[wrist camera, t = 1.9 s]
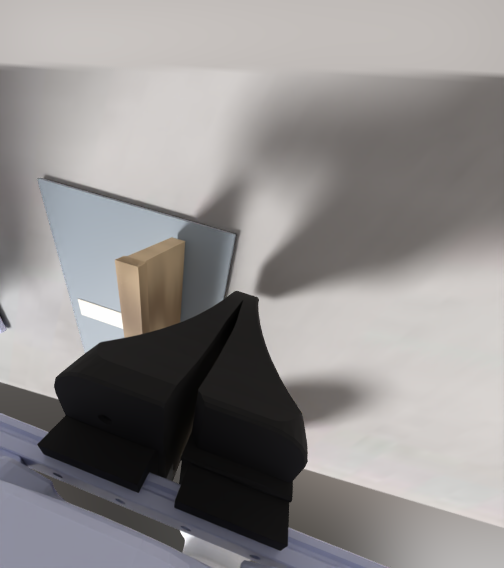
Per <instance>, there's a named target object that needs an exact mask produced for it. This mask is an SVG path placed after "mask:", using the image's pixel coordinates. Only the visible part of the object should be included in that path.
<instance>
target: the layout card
mask: <svg viewBox="0 0 504 568" xmlns="http://www.w3.org/2000/svg"><path fill="white" fill-rule="evenodd" d="M37 180H38V184H39V187H40V191H41V194H42V198H43V202H44V205H45V209H46V213H47V216H48V220H49V224H50V227H51V231H52V235H53V238H54V242H55V245H56V249H57V253H58V256H59V260H60V264H61V267H62V271H63V275H64V278H65V282H66V285H67V289H68V293H69V296H70V300H71V304H72V307H73V311H74V315H75V318H76V322H77V326H78V329H79V333H80V336H81V340H82V344H83V347H84V351H85V353H86V352H88V351H89V350H90V349H92V348H93V347H94V346H96V345H97V344H98V343H100V342H103V341H109V340H115V339H120V338H124V331H123V323H122V315H121V307H120V299H119V291H118V283H117V275H116V267H115V259H117V258H120V257H122V256H128V255H131V254H133V253H136V252H138V251H140V250H143V249H145V248H147V247H150V246H152V245H155V244H157V243H159V242H162V241H164V240H166V239H169V238H171V237H173V238H176V239H180V240H183V241H185V253H184V269H183V285H182V302H181V318H180V322H183V321H185V320H187V319H190V318H192V317H194V316H196V315H198V314H200V313H202V312H204V311H206V310H207V309H209V308H211V307H213V306H214V305H216V304H217V303H219V302H221V301H222V300H224V296H225V291H226V285H227V280H228V275H229V269H230V264H231V259H232V254H233V248H234V243H235V238H236V234H234V233H231V232H227V231H224V230H220V229H217V228H213V227H210V226H206V225H203V224H200V223H196V222H193V221H189V220H186V219H182V218H179V217H175V216H172V215H168V214H165V213H161V212H158V211H154V210H151V209H147V208H144V207H140V206H137V205H134V204H130V203H127V202H123V201H120V200H116V199H113V198H109V197H106V196H102V195H99V194H95V193H92V192H88V191H85V190H81V189H78V188H75V187H71V186H68V185H64V184H61V183H57V182H54V181H50V180H47V179H43V178H37Z"/></svg>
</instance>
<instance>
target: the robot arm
mask: <svg viewBox="0 0 504 568" xmlns="http://www.w3.org/2000/svg"><path fill="white" fill-rule="evenodd" d="M258 302H259V299H258V297H255V296H251V295H248V294H245V293H242V292H239V291H235V292H233V293H232V294H231V295H229V296H228V297H226V298H225V299H224V300H222V301H221V302H219V303H217V304H216V305H214V306H213V307H211V308H209V309H207V310H206V311H204V312H202V313H200V314H198V315H196V316H194V317H192V318H190V319H187V320H185V321H183V322H180V323H177V324H174V325H171V326H168V327H165V328H162V329H159V330H155V331H152V332H148V333H144V334H140V335H136V336H131V337H126V338H120V339H115V340H109V341H103V342H100V343H98V344H97V345H96V346H94V347H93V348H92V349H90V350H89V351H88V352H86V353H85V354H84V355H83V356H81V357H80V358H79V359H78V360H76V361H75V362H74V363H73V364H71V365H70V366H69V367H68V368H67V369H65V370H64V371H63V372H62V373H60V374H59V375H58V376H57V377H56V379H55V384H54V388H55V391H56V394H57V397H58V399H59V401H60V403H61V406H62V408H63V410H64V412H65V414H66V416H65V417H64V418H63V419H62V420H61V421H60V422H59V423H58V424H57V425H56V426H55V427H54V428H53V429H52V430H51V431H50V432H47V431H44V430H42V429H39V428H37V427H34V426H32V425H29V424H27V423H24V422H22V421H19V420H17V419H14V418H12V417H9V416H7V415H4V414H2V413H0V568H212V567H210V566H208V565H206V564H204V563H202V562H200V561H198V560H196V559H194V558H192V557H190V556H188V555H186V554H184V553H182V552H180V551H178V550H176V549H174V548H172V547H169V546H168V545H166V544H164V543H162V542H160V541H157V540H155V539H153V538H151V537H149V536H146V535H144V534H142V533H140V532H138V531H135V530H133V529H131V528H129V527H127V526H124V525H122V524H120V523H117V522H115V521H113V520H110V519H108V518H105V517H103V516H100V515H98V514H96V513H93V512H91V511H88V510H86V509H83V508H81V507H78V506H75V505H73V504H70V503H67V502H66V501H65V500H64V499H63V498H62V497H61V496H60V495H59V494H58V493H57V491H56V490H55V489H54V486H53V483H52V481H51V480H49V479H47V478H45V477H44V476H42V475H40V474H39V473H37V472H35V471H34V470H36V471H39V472H41V473H44V474H46V475H49V476H51V477H53V478H56V479H58V480H61V481H63V482H65V483H68V484H70V485H72V486H75V487H77V488H80V489H82V490H84V491H87V492H89V493H92V494H94V495H97V496H99V497H101V498H104V499H106V500H108V501H111V502H113V503H116V504H118V505H121V506H123V507H125V508H128V509H130V510H133V511H135V512H137V513H140V514H142V515H145V516H147V517H149V518H152V519H154V520H157V521H159V522H161V523H164V524H166V525H169V526H171V527H173V528H176V529H178V530H181V531H183V532H185V533H188V534H190V535H193V536H195V537H197V538H200V539H202V540H205V541H207V542H209V543H212V544H214V545H217V546H219V547H221V548H224V549H226V550H229V551H231V552H233V553H236V554H238V555H241V556H243V557H245V558H248V559H250V560H253V561H255V562H257V563H255V562H251V561H246V560H244V561H243V562H242V563H241V565H240V568H389V567H387V566H384V565H381V564H379V563H377V562H374V561H371V560H369V559H366V558H364V557H361V556H359V555H356V554H354V553H351V552H349V551H346V550H344V549H341V548H339V547H336V546H334V545H331V544H329V543H326V542H324V541H321V540H319V539H316V538H314V537H311V536H308V535H306V534H304V533H301V532H298V531H296V530H293V529H291V528H288V522H289V502H291V501H292V490H293V480H294V479H295V478H296V476H297V475H298V474H299V473H300V472H301V471H302V470H303V469H304V468H305V466H306V464H307V462H308V460H307V454H308V452H307V440H306V433H305V427H304V422H303V417H302V413H301V411H300V410H299V408H298V407H297V405H296V404H295V402H294V401H293V399H292V397H291V396H290V394H289V393H288V391H287V389H286V388H285V386H284V384H283V382H282V380H281V379H280V377H279V374H278V372H277V370H276V368H275V366H274V364H273V362H272V360H271V357H270V355H269V352H268V350H267V347H266V344H265V341H264V338H263V334H262V330H261V325H260V320H259V312H258ZM4 331H6V327H5V325H4V323H3V321H2V319H1V317H0V333H2V332H4ZM181 460H182V465H181V473H180V482H179V484H178V483H175V482H173V479H174V476H175V473H176V471H177V468H178V466H179V463H180V461H181ZM30 468H32V469H34V470H32V469H30ZM259 563H260V564H259Z"/></svg>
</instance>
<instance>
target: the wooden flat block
mask: <svg viewBox="0 0 504 568" xmlns="http://www.w3.org/2000/svg"><path fill="white" fill-rule="evenodd" d="M184 253H185V241H183V240H180V239H176V238H173V237H171V238H169V239H166V240H164V241H162V242H159V243H157V244H155V245H152V246H150V247H147V248H145V249H143V250H140V251H138V252H136V253H133V254H131V255H128V256H122V257H120V258H117V259H115V267H116V275H117V283H118V291H119V299H120V307H121V315H122V323H123V331H124V338H126V337H131V336H136V335H140V334H144V333H148V332H152V331H155V330H159V329H162V328H165V327H168V326H171V325H174V324H177V323H180V318H181V302H182V285H183V269H184Z"/></svg>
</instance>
